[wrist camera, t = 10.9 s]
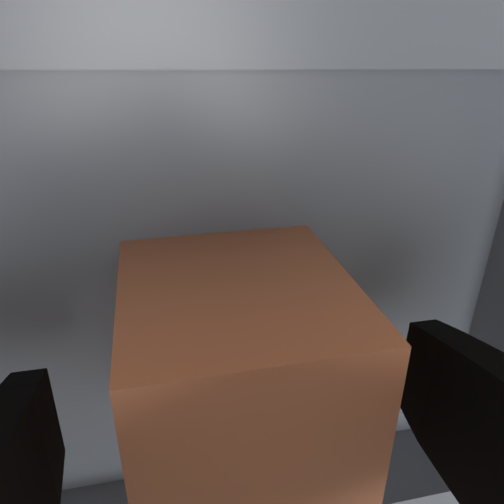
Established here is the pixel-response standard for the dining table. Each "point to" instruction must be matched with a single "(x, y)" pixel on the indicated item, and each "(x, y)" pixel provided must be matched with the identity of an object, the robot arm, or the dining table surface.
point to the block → (251, 373)
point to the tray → (244, 173)
